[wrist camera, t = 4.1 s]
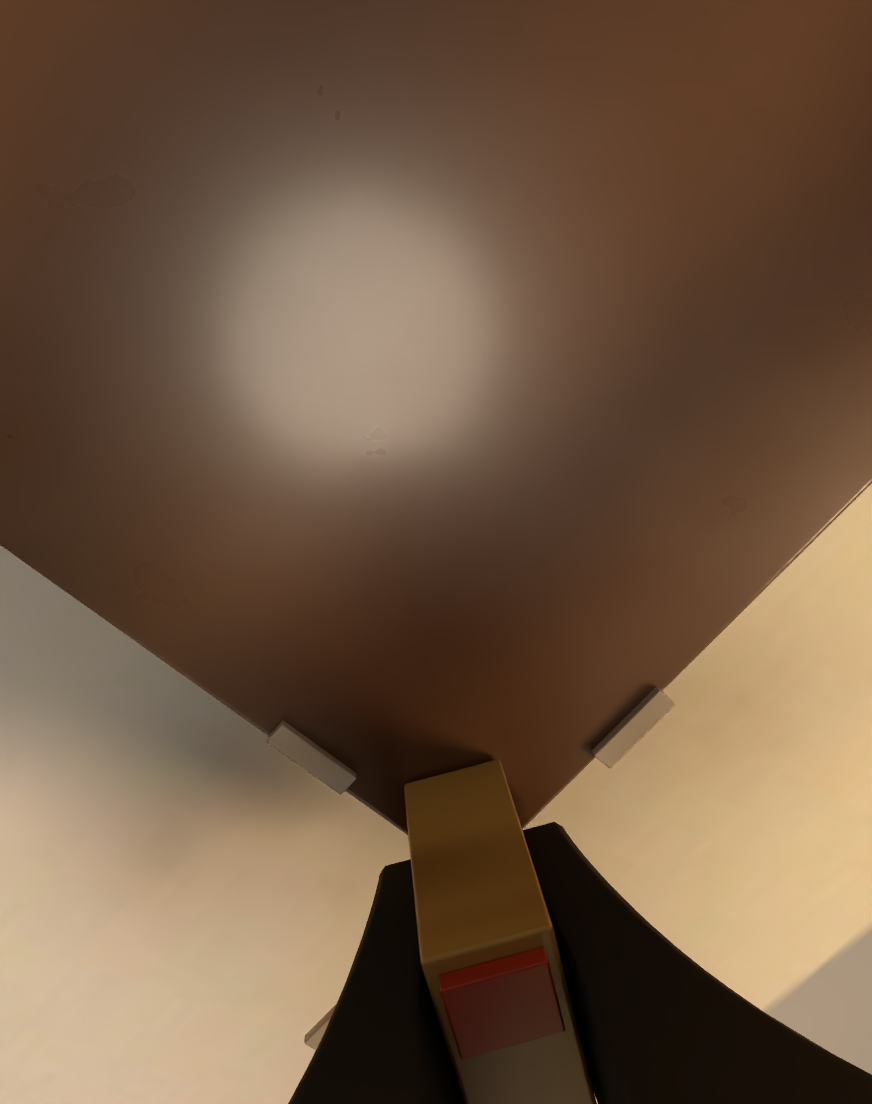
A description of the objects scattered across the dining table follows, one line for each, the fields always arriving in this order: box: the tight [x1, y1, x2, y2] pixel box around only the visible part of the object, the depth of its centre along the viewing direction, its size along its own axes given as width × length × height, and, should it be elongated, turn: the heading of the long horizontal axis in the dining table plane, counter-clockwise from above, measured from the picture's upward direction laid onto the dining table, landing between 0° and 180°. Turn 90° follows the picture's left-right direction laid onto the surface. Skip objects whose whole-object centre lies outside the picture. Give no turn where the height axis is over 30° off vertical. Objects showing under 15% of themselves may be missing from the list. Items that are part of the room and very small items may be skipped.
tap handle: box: [404, 760, 597, 1104], centre depth 11 cm, size 4×2×4 cm, turn 14°
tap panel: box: [0, 0, 872, 1050], centre depth 11 cm, size 22×23×3 cm
